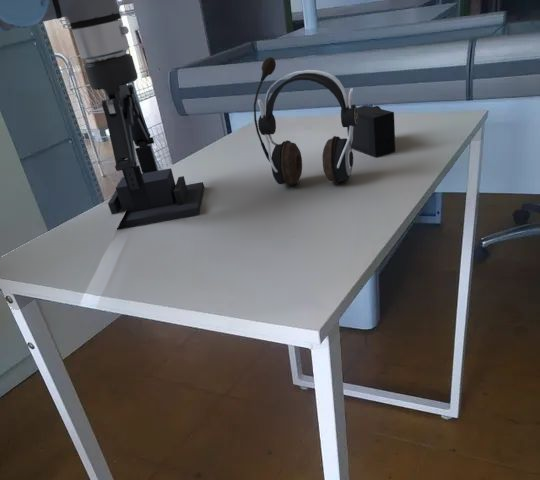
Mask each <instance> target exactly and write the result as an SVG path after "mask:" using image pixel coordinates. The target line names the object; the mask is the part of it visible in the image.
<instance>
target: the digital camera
mask: <svg viewBox="0 0 540 480" xmlns="http://www.w3.org/2000/svg"><path fill="white" fill-rule="evenodd" d="M356 107H357V110H358V122H357V124H356V126H354V127H353V140H352V144H351V148H352V150H355V151H358V152H361V153H363V154H367V155H369V156H371V157H374V158H379V157H381V156H382V157H383V156H384V155H388V154H391V153H395V152H396V133H395V132H396V130H395V129H396V127H395V125H396V124H395V112H394V111H391V110H386V109H382V108H381V107H380V106H379V105H374V106H371V105H370V106H369V105H361V106H356ZM346 130H347V136H348V135H349V127H346ZM349 142H350V141H349Z"/></svg>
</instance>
